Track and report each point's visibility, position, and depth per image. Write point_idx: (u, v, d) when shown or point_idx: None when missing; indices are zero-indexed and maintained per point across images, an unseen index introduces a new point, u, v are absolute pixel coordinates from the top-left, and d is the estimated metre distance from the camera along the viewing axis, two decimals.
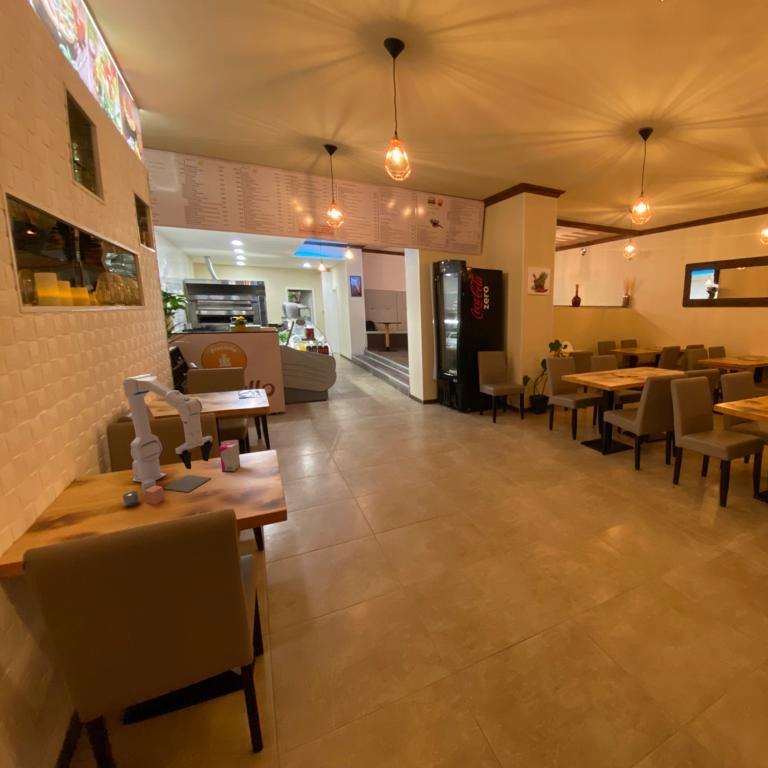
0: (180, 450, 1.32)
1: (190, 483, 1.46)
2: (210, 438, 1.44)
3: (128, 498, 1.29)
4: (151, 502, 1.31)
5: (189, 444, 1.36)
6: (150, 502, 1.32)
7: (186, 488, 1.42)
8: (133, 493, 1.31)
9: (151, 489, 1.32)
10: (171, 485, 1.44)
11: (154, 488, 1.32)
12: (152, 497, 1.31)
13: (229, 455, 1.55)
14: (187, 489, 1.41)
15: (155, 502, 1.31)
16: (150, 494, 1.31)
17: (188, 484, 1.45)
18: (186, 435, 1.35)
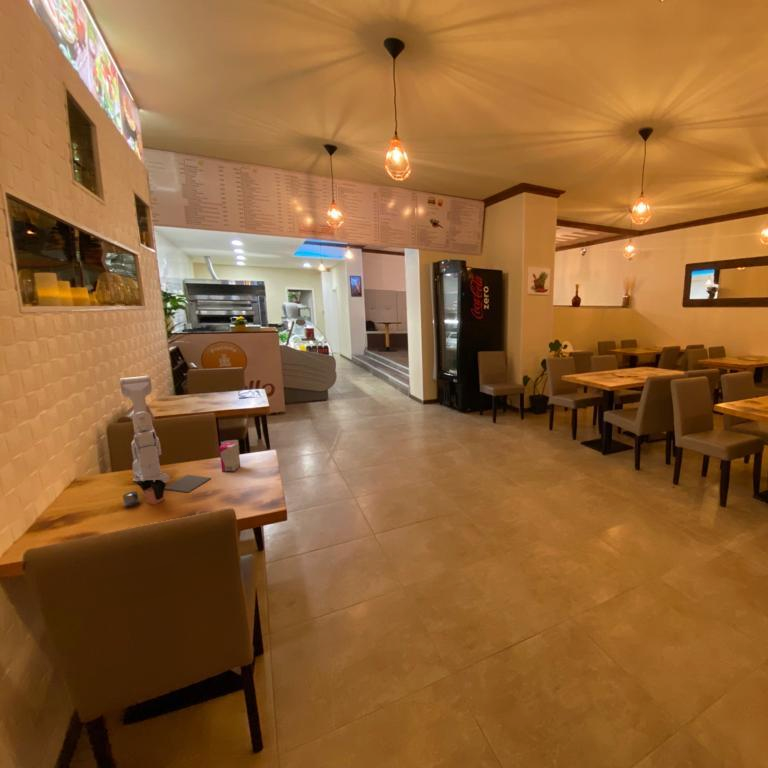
0: (134, 475, 1.32)
1: (190, 483, 1.46)
2: (162, 479, 1.29)
3: (128, 498, 1.29)
4: (151, 502, 1.31)
5: None
6: (150, 502, 1.32)
7: (186, 488, 1.42)
8: (133, 493, 1.31)
9: (151, 489, 1.32)
10: (171, 485, 1.44)
11: None
12: (152, 497, 1.31)
13: (229, 455, 1.55)
14: (187, 489, 1.41)
15: (155, 502, 1.31)
16: (150, 494, 1.31)
17: (188, 484, 1.45)
18: None
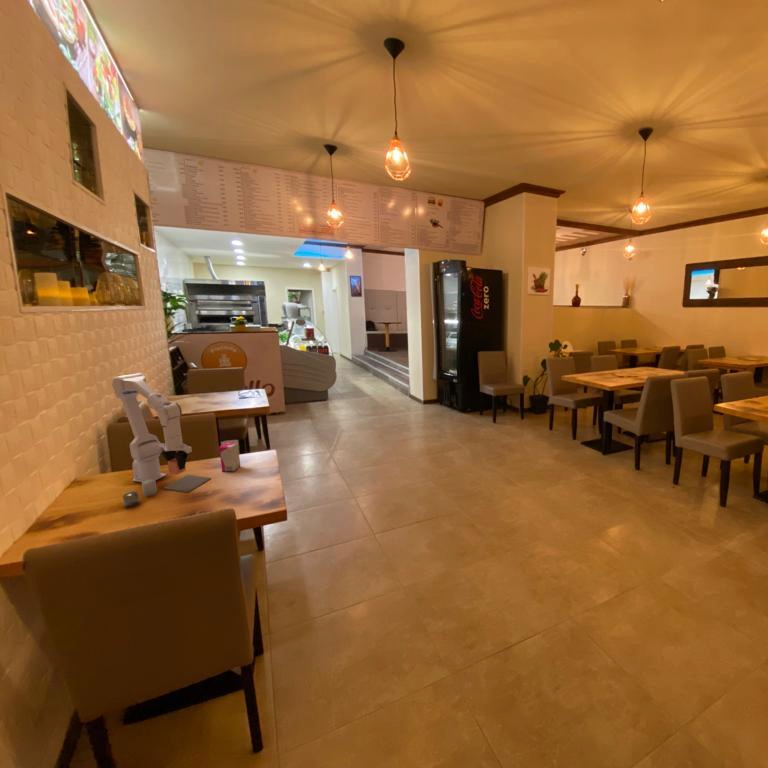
0: (158, 446, 1.41)
1: (190, 483, 1.46)
2: (185, 449, 1.37)
3: (128, 498, 1.29)
4: (173, 472, 1.39)
5: None
6: (172, 472, 1.40)
7: (186, 488, 1.42)
8: (133, 493, 1.31)
9: (173, 460, 1.40)
10: (171, 485, 1.44)
11: None
12: (174, 467, 1.39)
13: (229, 455, 1.55)
14: (187, 489, 1.41)
15: (177, 472, 1.39)
16: (173, 465, 1.39)
17: (188, 484, 1.45)
18: None
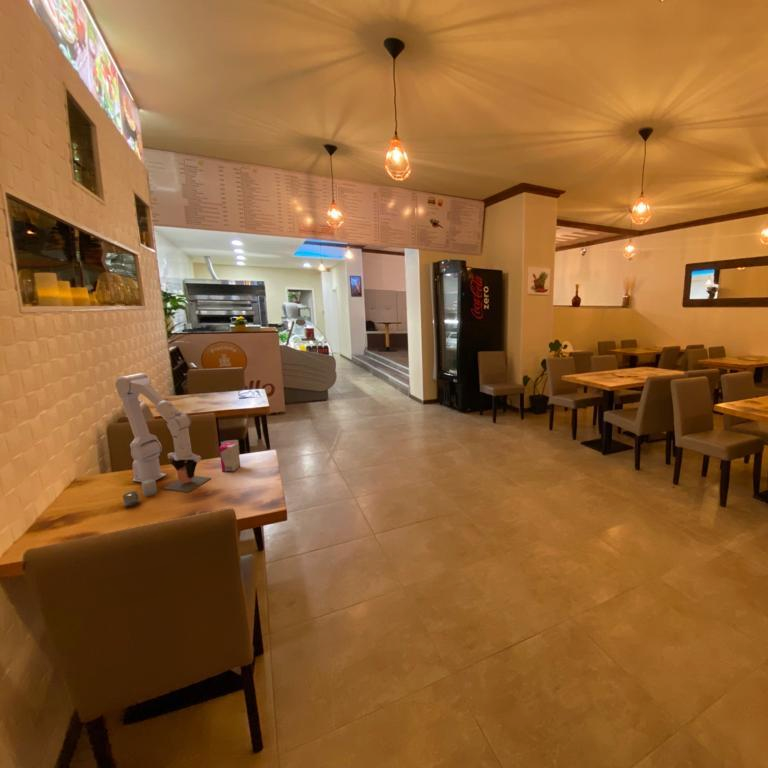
0: (168, 455, 1.45)
1: (190, 483, 1.46)
2: (194, 458, 1.41)
3: (128, 498, 1.29)
4: (183, 481, 1.44)
5: None
6: (182, 481, 1.44)
7: (186, 488, 1.42)
8: (133, 493, 1.31)
9: (183, 469, 1.44)
10: (171, 485, 1.44)
11: None
12: (184, 476, 1.43)
13: (229, 455, 1.55)
14: (187, 489, 1.41)
15: (187, 481, 1.43)
16: (183, 473, 1.43)
17: (188, 484, 1.45)
18: None
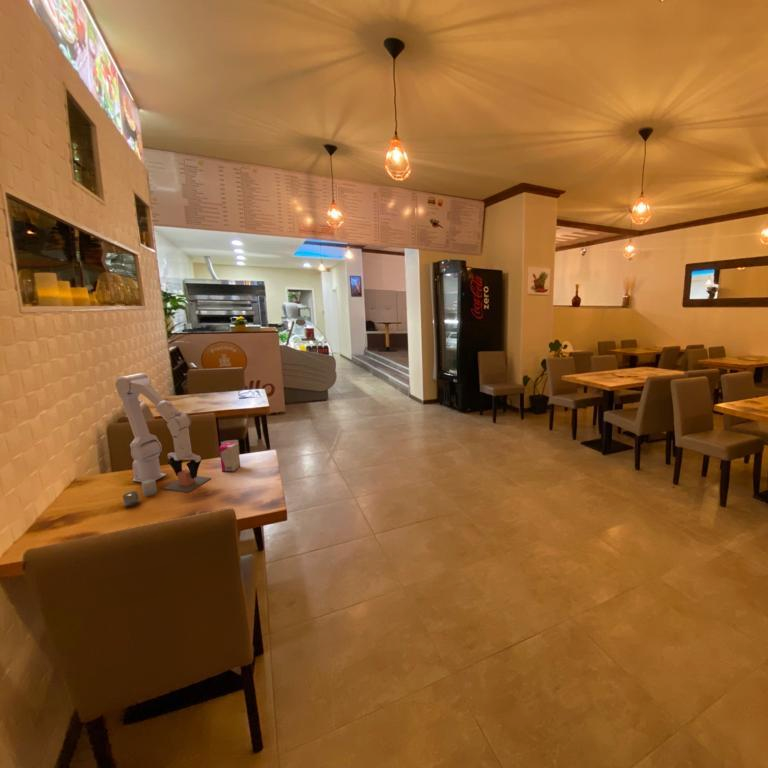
0: (168, 455, 1.45)
1: None
2: (194, 459, 1.41)
3: (128, 498, 1.29)
4: (183, 484, 1.44)
5: None
6: (182, 484, 1.44)
7: (186, 488, 1.42)
8: (133, 493, 1.31)
9: (183, 472, 1.44)
10: (171, 485, 1.44)
11: (186, 471, 1.45)
12: (184, 479, 1.43)
13: (229, 455, 1.55)
14: (187, 489, 1.41)
15: (187, 484, 1.44)
16: (183, 476, 1.43)
17: None
18: None
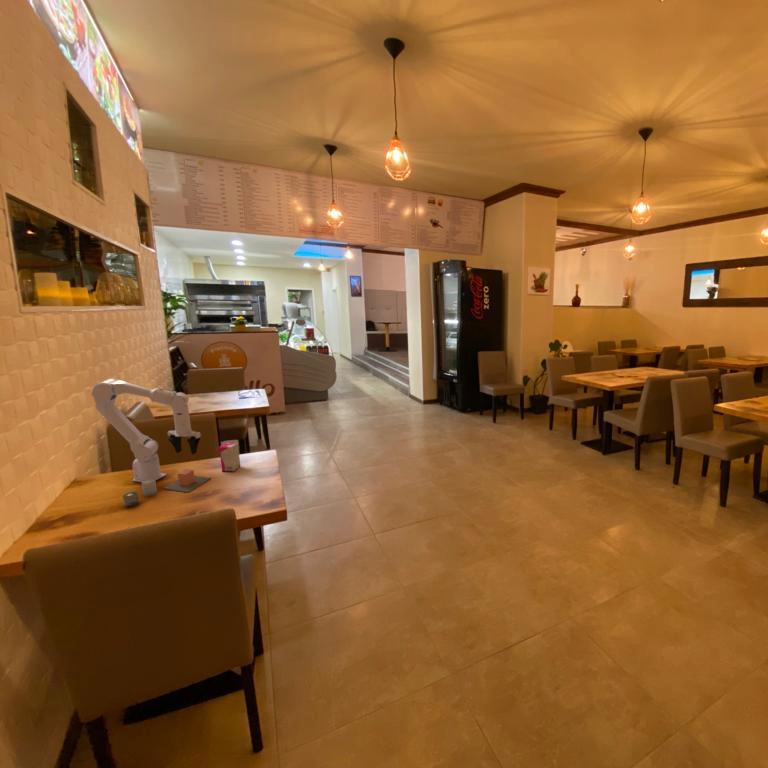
0: (168, 433, 1.53)
1: None
2: (195, 435, 1.50)
3: (128, 498, 1.29)
4: (183, 484, 1.44)
5: None
6: (182, 484, 1.44)
7: (186, 488, 1.42)
8: (133, 493, 1.31)
9: (183, 472, 1.44)
10: (171, 485, 1.44)
11: (186, 471, 1.45)
12: (184, 479, 1.43)
13: (229, 455, 1.55)
14: (187, 489, 1.41)
15: (187, 484, 1.44)
16: (183, 476, 1.43)
17: None
18: None
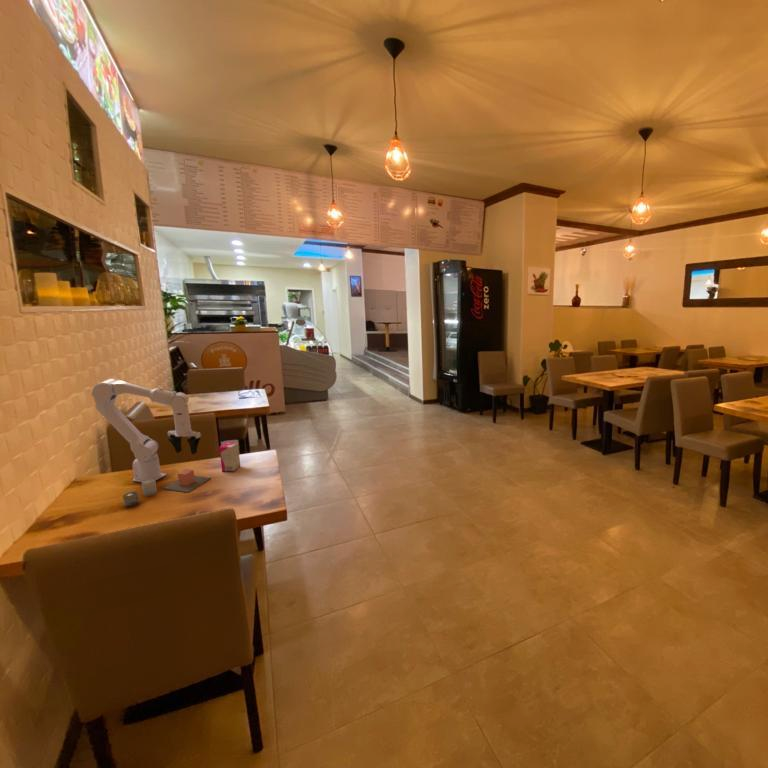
0: (168, 433, 1.53)
1: None
2: (195, 435, 1.50)
3: (128, 498, 1.29)
4: (183, 484, 1.44)
5: None
6: (182, 484, 1.44)
7: (186, 488, 1.42)
8: (133, 493, 1.31)
9: (183, 472, 1.44)
10: (171, 485, 1.44)
11: (186, 471, 1.45)
12: (184, 479, 1.43)
13: (229, 455, 1.55)
14: (187, 489, 1.41)
15: (187, 484, 1.44)
16: (183, 476, 1.43)
17: None
18: None
